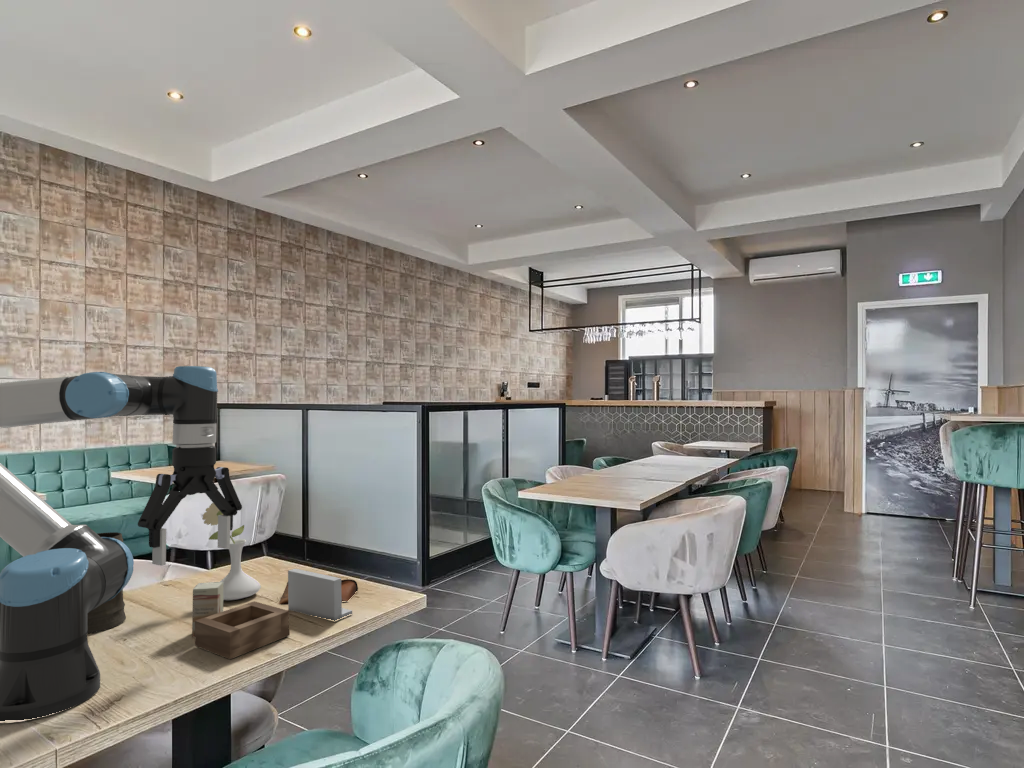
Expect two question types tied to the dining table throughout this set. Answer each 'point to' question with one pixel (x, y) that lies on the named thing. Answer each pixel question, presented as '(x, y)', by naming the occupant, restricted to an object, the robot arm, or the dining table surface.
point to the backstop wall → (315, 594)
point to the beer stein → (107, 605)
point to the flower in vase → (233, 562)
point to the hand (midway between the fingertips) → (193, 555)
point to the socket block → (241, 629)
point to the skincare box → (206, 601)
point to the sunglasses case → (346, 591)
